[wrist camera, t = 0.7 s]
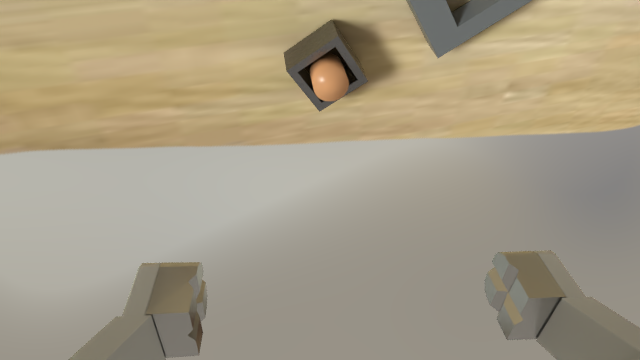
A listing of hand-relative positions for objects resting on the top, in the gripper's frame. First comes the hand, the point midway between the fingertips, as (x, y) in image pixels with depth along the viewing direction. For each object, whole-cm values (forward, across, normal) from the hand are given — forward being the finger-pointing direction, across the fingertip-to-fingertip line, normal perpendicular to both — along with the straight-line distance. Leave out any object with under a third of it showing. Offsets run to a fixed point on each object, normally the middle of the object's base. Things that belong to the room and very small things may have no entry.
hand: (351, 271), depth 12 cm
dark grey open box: (+38, -3, +8) cm, 39 cm away
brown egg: (+35, -3, +9) cm, 36 cm away
